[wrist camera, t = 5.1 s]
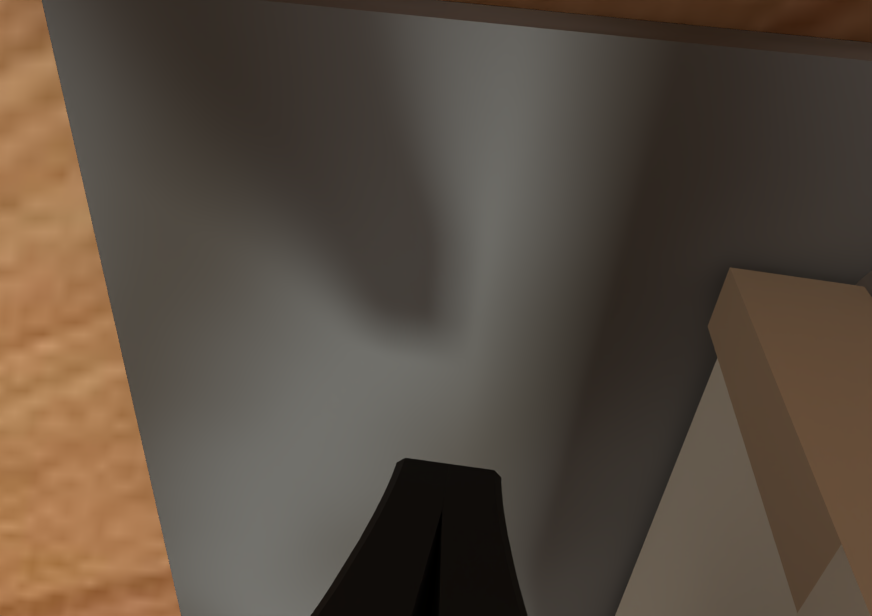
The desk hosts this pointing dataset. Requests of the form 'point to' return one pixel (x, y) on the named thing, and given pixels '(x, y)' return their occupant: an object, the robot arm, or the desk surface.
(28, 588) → the desk surface
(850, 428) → the gate leaf
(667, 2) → the desk surface
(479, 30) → the gate base
